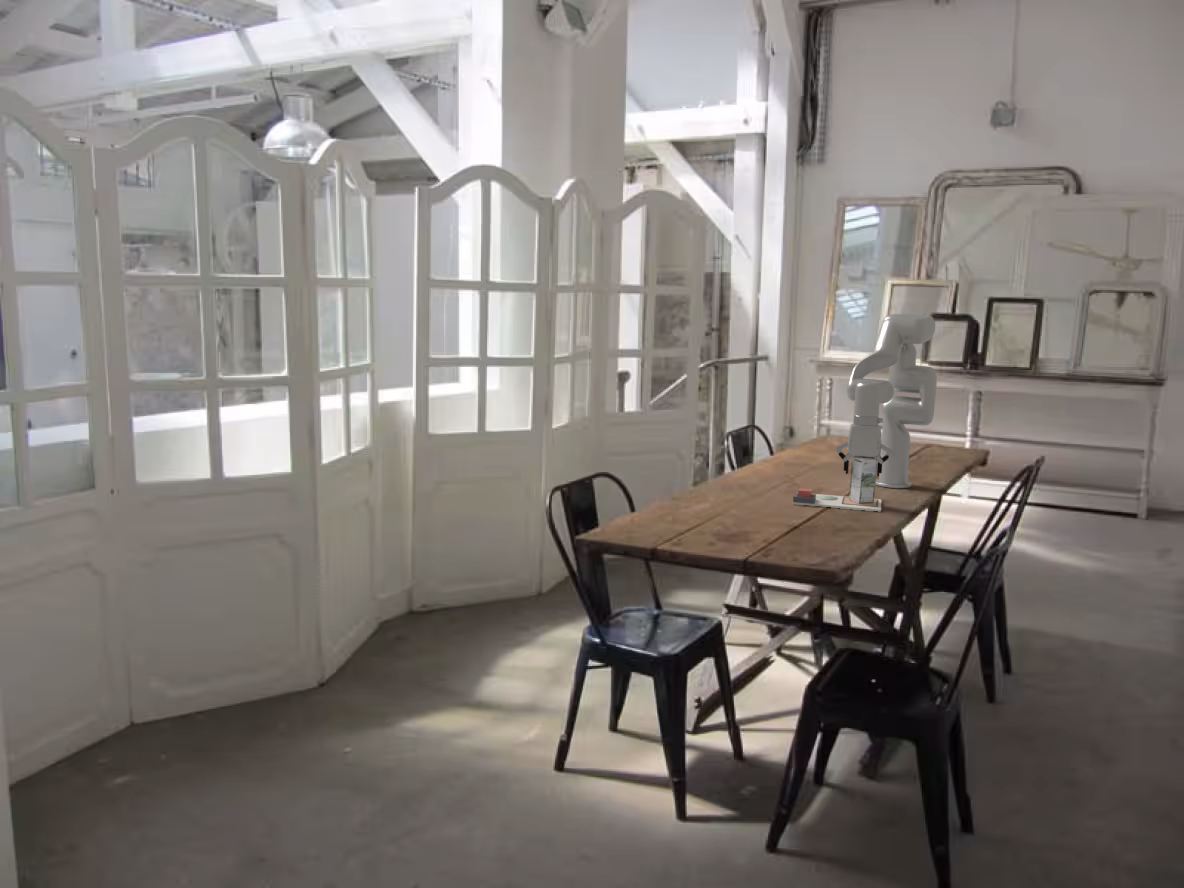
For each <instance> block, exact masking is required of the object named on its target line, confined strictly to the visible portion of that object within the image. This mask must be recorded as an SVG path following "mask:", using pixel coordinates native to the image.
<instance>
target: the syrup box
mask: <svg viewBox="0 0 1184 888" xmlns="http://www.w3.org/2000/svg"><path fill="white" fill-rule="evenodd" d="M877 466H878V460H877V459H876V458H872V457H857V456H851V468H850V469H851V470H850V481H849V493H848V497H849V500H850V501H853V502H856V503H874V499H875V492H876V484H875V483H876V479H877Z"/></svg>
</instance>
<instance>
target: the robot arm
mask: <svg viewBox="0 0 1184 888" xmlns="http://www.w3.org/2000/svg"><path fill="white" fill-rule="evenodd" d="M935 331H936V322H935V320H934V318H933V317H932V316H931V315H927V314H908V313H902V314H901V313H892V314H888V315H886V316H884V317H883V319H882V323H881V325H880V327H879V331H878V334H877V338H876V341H875V343H874V347H873V350H872V352H871V353H869V354H868V355H866V356H865V357H863V358H862V359H861V360H860V361H858V362H857V363H856V364H855V366H854V367H853V368H852V371H851V374H850V377H849V380H848V384H847V388H846V394H847V397H848V399H849V400H851V401H853V402H854V407H853V423H851V424H850V426H849V431H848V432H849V433H848V438H847V441H845V442H844V443H841V444H839V445H836V446H835V449H836V452H837V454H838V457H840V458H841V459H842V461H843V472H844V471H845V475H848V474H849V465H850V458H852V457H854V456H857V457H872V458H876V459H877V471H876V477H878V478H876V483H875V486H879V487H882V488H883V487H884V488H890V489H907V488H908V489H909V488H912V482H910V481H908V477H909V476H908V472H909V462H910V461H909V460H910V447H911V435H910V432H909V430H908V429H907V427H906V426H905V425H914V426H928V425H930V424H931V423H932V422H933V420H934V415H935V407H936V406H935V405H936V396H937V394H936V393H937V384H938V378H937V372H936V369H934V368H932V367H931V366H927V365H924V366H923V365H916V361H917V348H916V347H915V345H920V344H921V345H922V344H924V343H926V342H929V341H930V340H931V339H932V338H933V336H934V334H935ZM887 368H889V369H888V380H884V379H874V378H873V379H871V378H865V377H866V376H868V375H869V374H871V373H874V372H877V371H879V370H884V369H887ZM895 392H899V393H908V394H919V396H920V397H915V396H914V397H913V396H903V395H894V394H895ZM880 404H881V408H880ZM880 409H881V410H880ZM880 411H881V417H880V416H879V414H880ZM880 423H881V424H882V429H881V425H880ZM845 448H847V453H846V455H845V454H844V452H843V451H842V449H845Z"/></svg>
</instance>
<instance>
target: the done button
mask: <svg viewBox="0 0 1184 888" xmlns="http://www.w3.org/2000/svg"><path fill="white" fill-rule="evenodd" d="M797 493H798V496H801V497H811V496H812V494H813V489H812V488H802V487H799V488H798V490H797Z"/></svg>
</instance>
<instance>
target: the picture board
mask: <svg viewBox="0 0 1184 888" xmlns="http://www.w3.org/2000/svg"><path fill="white" fill-rule="evenodd" d="M792 496H793V497H792V503H791V505H792V504H796V505H795V506H803V505H809V506H808V507H814V506H822V507H821V508H826V507H831V508H830V509H838V508H840V510H850V509H852V510H851V511H861V510H865V511H866V512H873V511H878V512H877V513H881V512H882V499H879V498H874V503H856V502H853V501H850V500H849V496H843V495H831V494H821V493H819V494H818V493H812V496H811V497H801V496H798V492H795V493H794V495H792Z"/></svg>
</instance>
